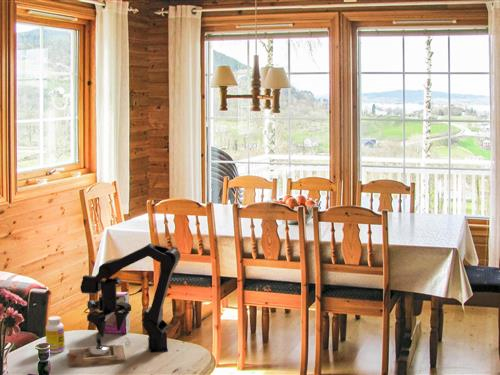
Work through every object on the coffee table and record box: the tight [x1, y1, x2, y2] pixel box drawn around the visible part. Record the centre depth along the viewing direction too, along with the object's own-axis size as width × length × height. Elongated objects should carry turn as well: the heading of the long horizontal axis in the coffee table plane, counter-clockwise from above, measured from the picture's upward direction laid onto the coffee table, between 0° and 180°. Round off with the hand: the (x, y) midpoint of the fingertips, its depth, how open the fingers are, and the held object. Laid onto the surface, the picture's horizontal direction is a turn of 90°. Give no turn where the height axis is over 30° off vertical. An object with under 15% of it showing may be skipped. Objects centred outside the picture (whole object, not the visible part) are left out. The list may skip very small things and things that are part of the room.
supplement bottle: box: [45, 315, 66, 354], centre depth 292 cm, size 7×7×13 cm
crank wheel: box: [89, 331, 109, 357], centre depth 286 cm, size 10×7×6 cm, turn 13°
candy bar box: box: [98, 291, 131, 335], centre depth 312 cm, size 11×5×16 cm, turn 82°
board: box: [68, 344, 126, 368], centre depth 286 cm, size 20×15×2 cm
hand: (110, 333), depth 296 cm, fingers open, 9 cm apart
